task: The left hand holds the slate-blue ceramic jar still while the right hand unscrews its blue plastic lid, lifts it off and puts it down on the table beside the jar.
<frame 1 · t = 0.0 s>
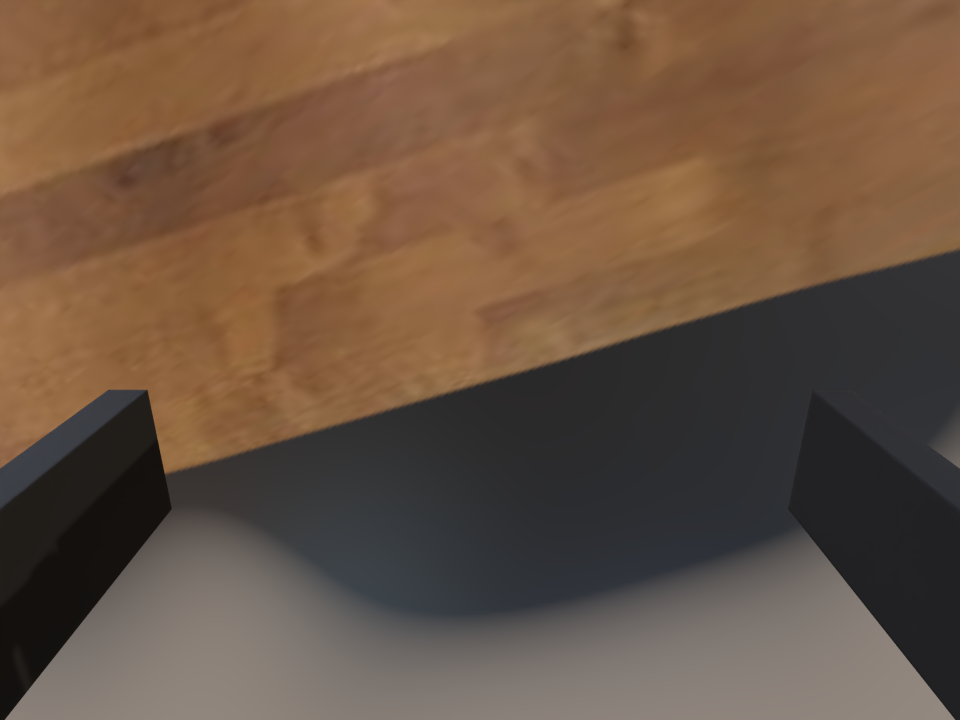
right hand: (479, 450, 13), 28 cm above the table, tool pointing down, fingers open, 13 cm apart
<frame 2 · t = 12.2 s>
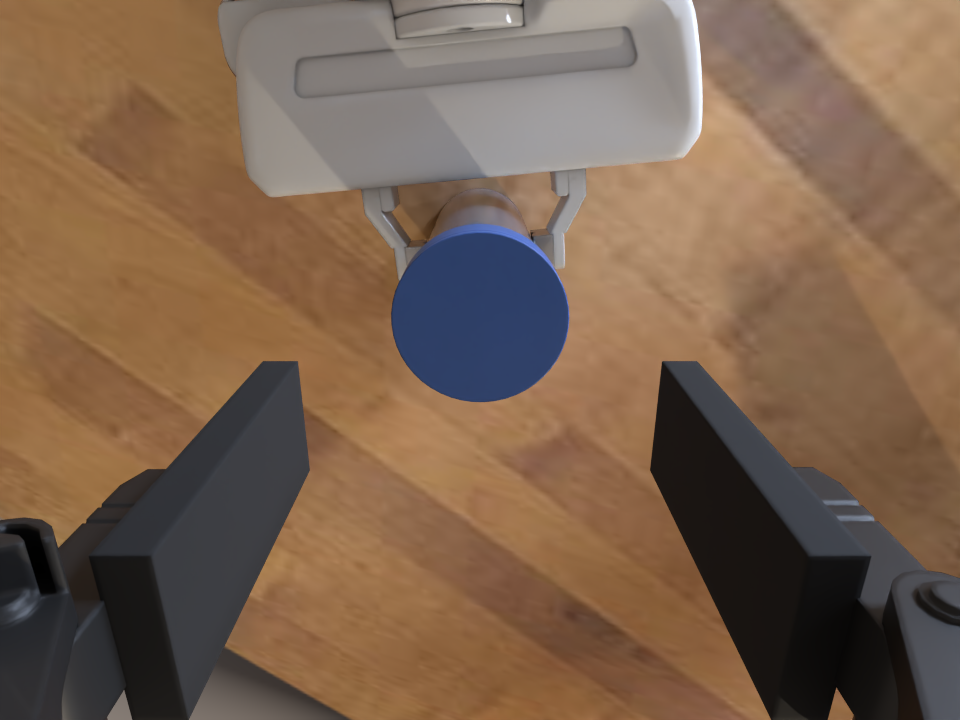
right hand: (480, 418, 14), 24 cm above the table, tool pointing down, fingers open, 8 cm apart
left hand: (482, 273, 31), fingers closed on jar, 5 cm apart
lid: (480, 318, 21), point 16 cm above the table, screwed on, not yet turned
jar: (480, 234, 37), on the table, touching left hand
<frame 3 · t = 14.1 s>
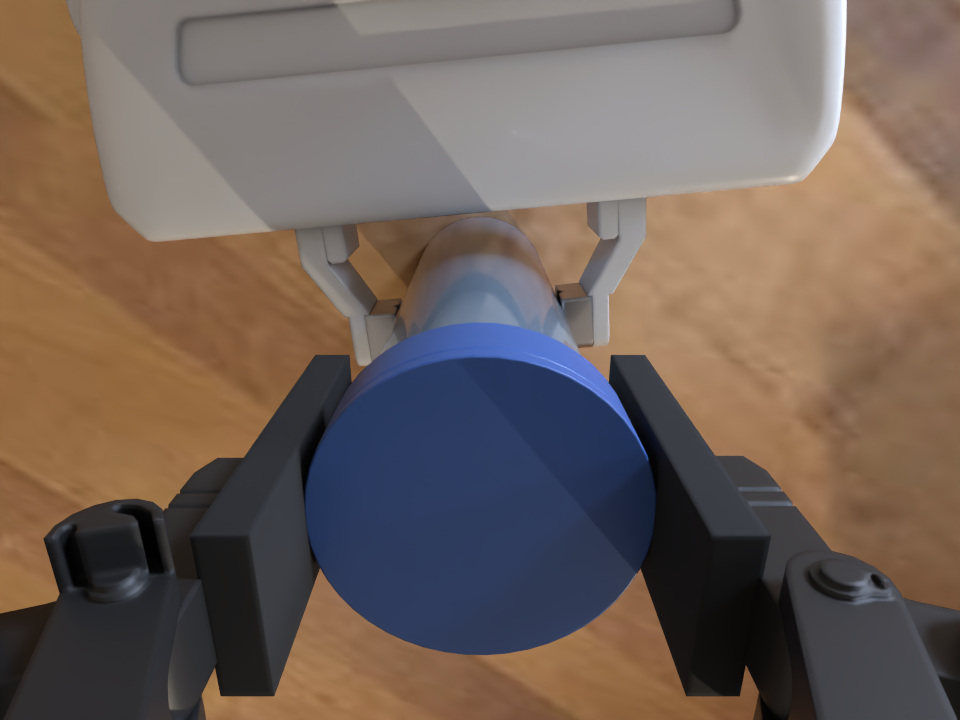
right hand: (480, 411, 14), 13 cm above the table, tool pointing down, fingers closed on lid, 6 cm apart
lid: (480, 508, 11), point 16 cm above the table, screwed on, not yet turned, touching right hand
jar: (480, 280, 26), on the table, touching left hand
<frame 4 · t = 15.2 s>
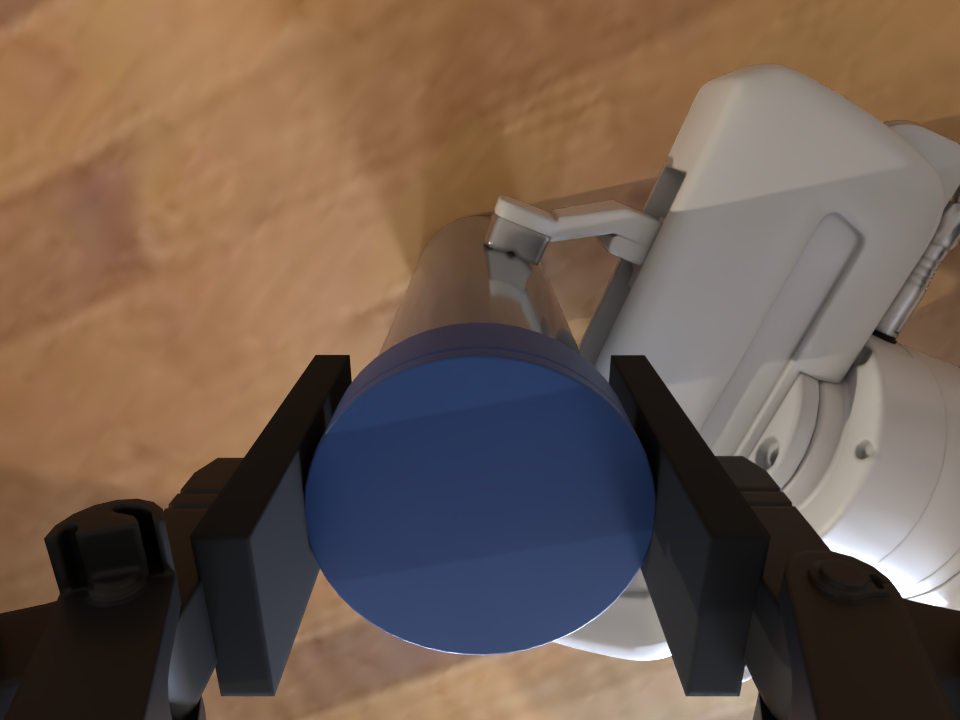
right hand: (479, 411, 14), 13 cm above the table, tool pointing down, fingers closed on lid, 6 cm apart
left hand: (453, 314, 21), fingers closed on jar, 5 cm apart
lid: (480, 508, 11), point 17 cm above the table, off its thread, touching right hand
jar: (479, 278, 26), on the table, touching left hand
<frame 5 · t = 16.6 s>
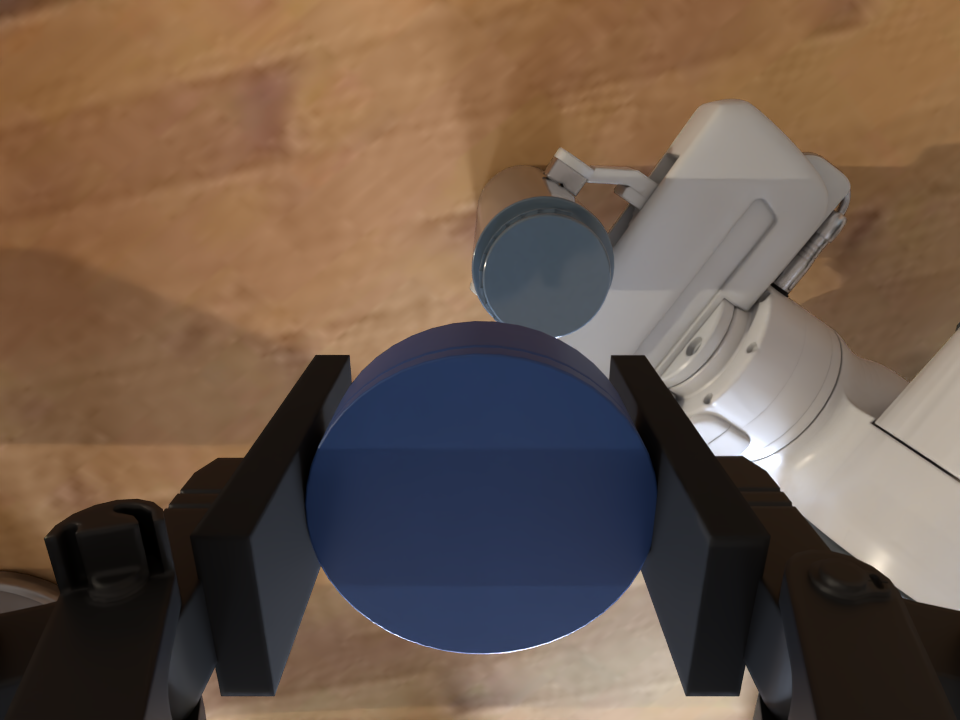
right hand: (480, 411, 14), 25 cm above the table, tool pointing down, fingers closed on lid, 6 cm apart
left hand: (512, 220, 31), fingers closed on jar, 5 cm apart
lid: (481, 507, 11), point 28 cm above the table, off its thread, touching right hand
jar: (521, 211, 37), on the table, touching left hand
when the right hand's fingers open (0 cm above the table, at t = 20.3 s): lid drops 3 cm, point 1 cm above the table.
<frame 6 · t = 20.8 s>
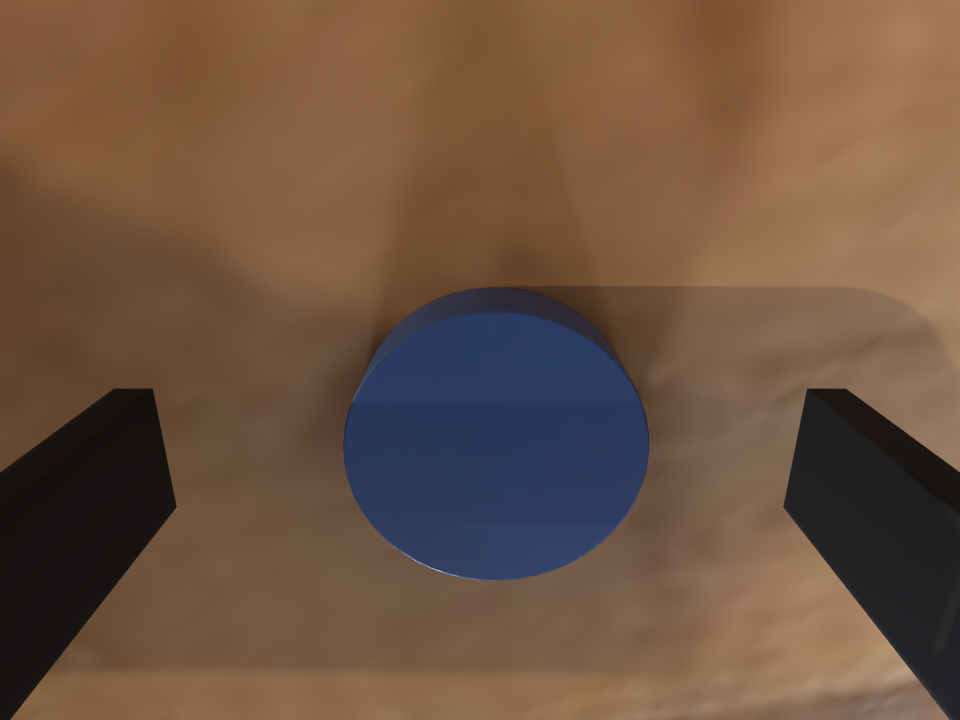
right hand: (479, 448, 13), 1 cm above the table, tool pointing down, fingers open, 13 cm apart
lid: (495, 449, 12), point 1 cm above the table, off its thread
when the left hand's fingers open (6 cm above the table, at t = 21.5 s): jar stays where it is, on the table.
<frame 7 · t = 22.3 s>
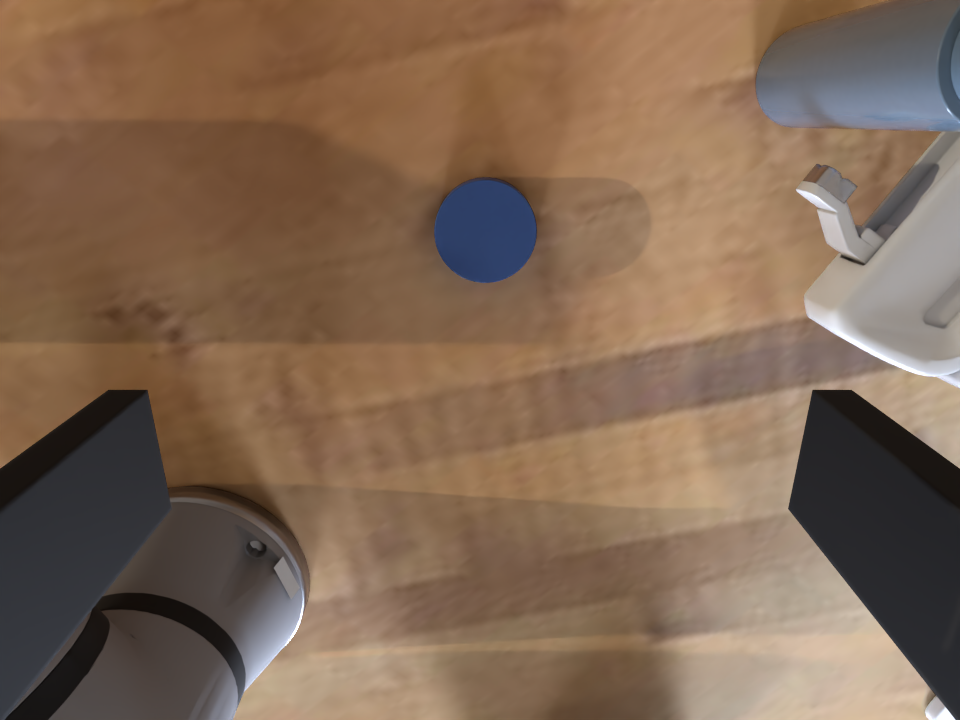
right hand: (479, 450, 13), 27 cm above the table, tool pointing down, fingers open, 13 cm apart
lid: (485, 231, 36), point 1 cm above the table, off its thread
jar: (802, 77, 35), on the table
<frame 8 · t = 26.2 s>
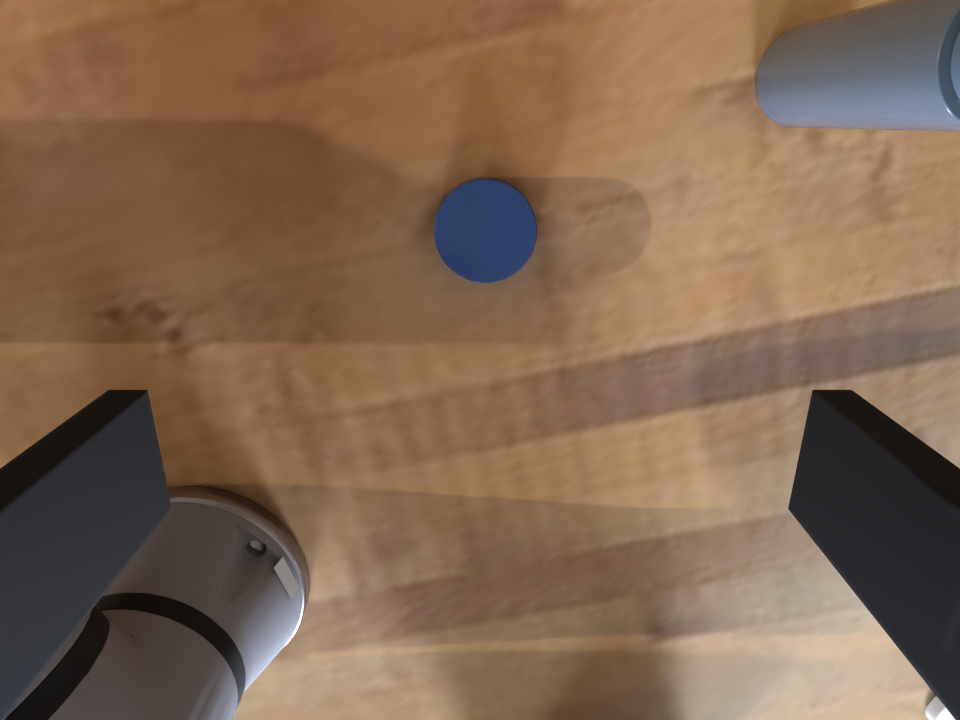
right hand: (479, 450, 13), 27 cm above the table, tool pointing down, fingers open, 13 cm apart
lid: (485, 231, 36), point 1 cm above the table, off its thread
jar: (802, 77, 35), on the table
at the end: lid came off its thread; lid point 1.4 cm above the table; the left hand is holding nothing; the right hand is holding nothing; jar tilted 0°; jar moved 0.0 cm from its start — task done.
